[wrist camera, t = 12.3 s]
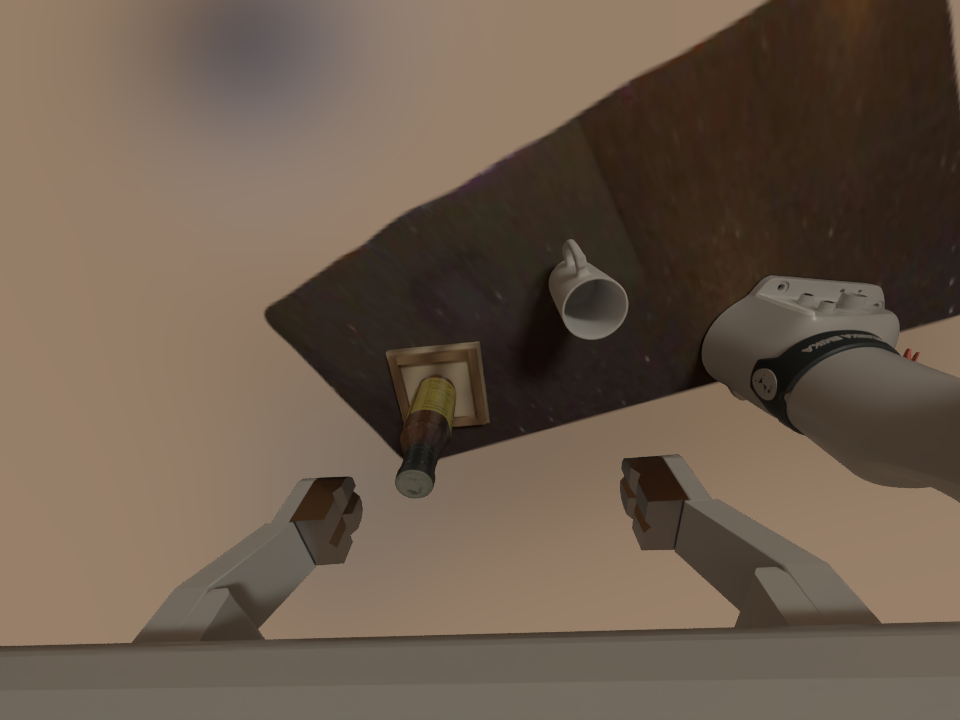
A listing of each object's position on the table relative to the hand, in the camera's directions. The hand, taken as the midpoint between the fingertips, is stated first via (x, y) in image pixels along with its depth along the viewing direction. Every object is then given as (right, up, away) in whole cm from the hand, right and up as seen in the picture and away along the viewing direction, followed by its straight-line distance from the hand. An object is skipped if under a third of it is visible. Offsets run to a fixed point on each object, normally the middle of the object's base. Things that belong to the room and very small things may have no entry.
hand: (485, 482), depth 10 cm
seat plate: (-6, 0, +44) cm, 45 cm away
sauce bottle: (-7, -1, +43) cm, 44 cm away
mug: (+12, +16, +36) cm, 41 cm away
